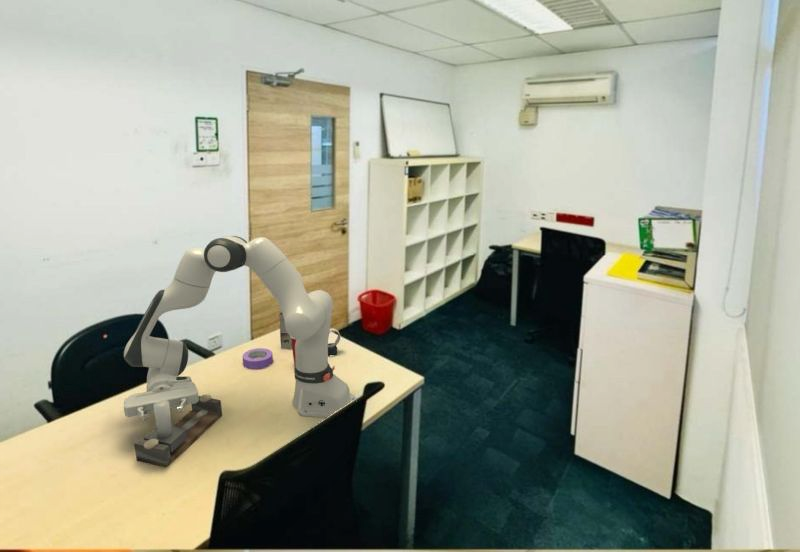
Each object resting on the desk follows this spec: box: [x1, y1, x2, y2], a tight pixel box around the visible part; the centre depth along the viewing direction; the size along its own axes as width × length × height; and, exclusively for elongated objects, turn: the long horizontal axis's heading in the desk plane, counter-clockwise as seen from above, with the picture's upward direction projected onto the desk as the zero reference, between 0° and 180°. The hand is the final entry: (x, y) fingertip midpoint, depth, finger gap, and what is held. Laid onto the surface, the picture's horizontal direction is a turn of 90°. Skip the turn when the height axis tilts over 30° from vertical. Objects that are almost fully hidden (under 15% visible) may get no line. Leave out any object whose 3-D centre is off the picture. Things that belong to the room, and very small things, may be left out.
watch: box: [328, 327, 341, 357], centre depth 198 cm, size 6×8×11 cm
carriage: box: [143, 400, 188, 452], centre depth 135 cm, size 7×9×13 cm
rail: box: [133, 394, 223, 469], centre depth 143 cm, size 28×10×7 cm, turn 166°
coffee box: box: [278, 312, 292, 350], centre depth 204 cm, size 9×6×16 cm
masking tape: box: [242, 347, 274, 370], centre depth 189 cm, size 12×12×4 cm
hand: (162, 414), depth 135 cm, fingers open, 8 cm apart
